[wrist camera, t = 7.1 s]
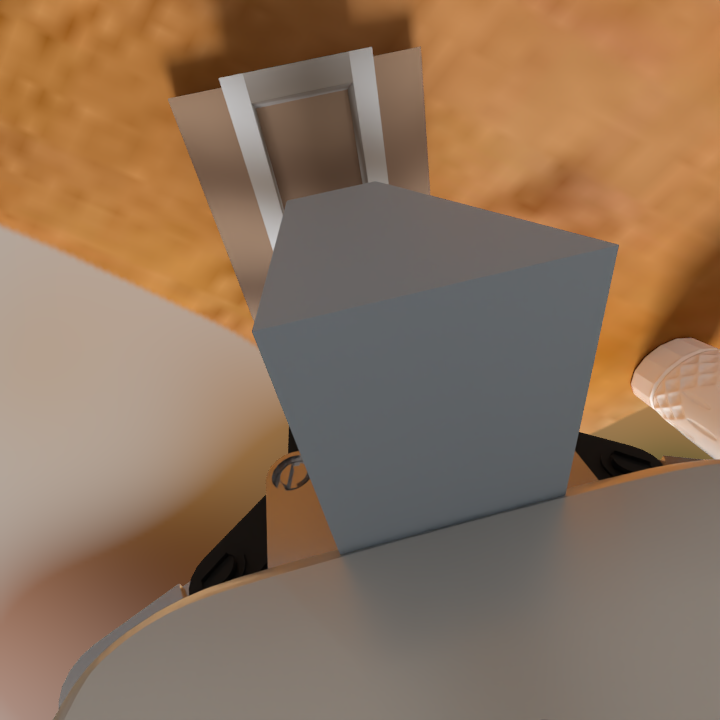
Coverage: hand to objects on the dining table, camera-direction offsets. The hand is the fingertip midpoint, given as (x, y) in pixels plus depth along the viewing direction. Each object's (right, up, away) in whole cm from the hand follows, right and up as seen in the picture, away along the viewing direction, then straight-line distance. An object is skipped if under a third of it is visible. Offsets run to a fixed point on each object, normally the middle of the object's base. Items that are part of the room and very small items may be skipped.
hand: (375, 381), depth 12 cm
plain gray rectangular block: (0, +1, +2) cm, 3 cm away
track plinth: (-2, +7, +10) cm, 13 cm away
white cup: (+28, 0, +20) cm, 35 cm away
